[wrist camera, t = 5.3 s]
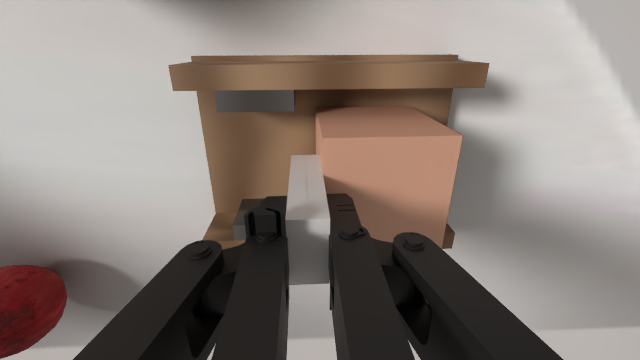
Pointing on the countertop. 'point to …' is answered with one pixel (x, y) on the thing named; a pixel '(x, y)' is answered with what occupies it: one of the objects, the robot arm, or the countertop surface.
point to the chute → (298, 114)
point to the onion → (28, 306)
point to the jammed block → (390, 167)
